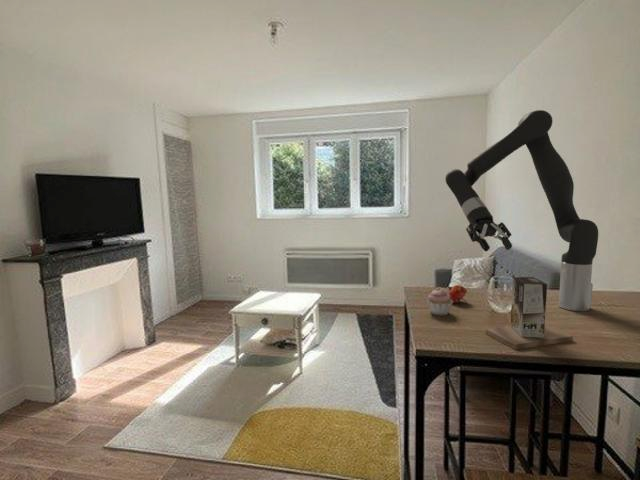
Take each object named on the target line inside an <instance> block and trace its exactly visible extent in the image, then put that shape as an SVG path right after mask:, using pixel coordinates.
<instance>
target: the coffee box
mask: <svg viewBox="0 0 640 480" xmlns="http://www.w3.org/2000/svg"><path fill="white" fill-rule="evenodd" d="M511 281H512V282H511V303H510V305H511V309H510V311H511V312H510V326H511V327H512V328H513V329H514V330H515V331H516V332H517V333H518V334H519V335H520V336H522V337H536V338H544V329H545V325H546V310H547V309H546V307H547V297H548V296H547V292H548V283H546V282H544V281H542V280H540V279H538V278H536V277H534V276H520V277H516V276H515V277H512V280H511Z"/></svg>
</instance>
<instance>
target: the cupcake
mask: <svg viewBox="0 0 640 480" xmlns="http://www.w3.org/2000/svg"><path fill="white" fill-rule="evenodd" d="M426 302H427V304H428V306H429V312H430V313H431V314H432V315H434V316H440V317H441V316H442V317H444V316H447V315H449V313H450V310H451V307H452V305H453V304H454V303H453V301H452V300H450V296H449V294H448V292H447V291H446V289H445V288H443V287H441V286H438V287H437V289H434V290H432V291H431V293H429V294H428V297H427V298H426Z"/></svg>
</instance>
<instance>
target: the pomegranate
mask: <svg viewBox="0 0 640 480" xmlns="http://www.w3.org/2000/svg"><path fill="white" fill-rule="evenodd" d="M446 288H448V292H447V293H448V294H449V296H450V300H452V301H453V303H452V304H458V303H460V301H461V300H462V301H464V302H466V303H467V300H465V299H464V297H465V296H466V294H467V293H468V291H467V289H466V288H465V287H464V286H463V285H459V284H456V285H453V286H451V287H450V286H446Z"/></svg>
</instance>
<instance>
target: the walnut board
mask: <svg viewBox="0 0 640 480" xmlns="http://www.w3.org/2000/svg"><path fill="white" fill-rule="evenodd" d="M485 334H486V335H487V336H489V337H491V338H493V339H495V340H496V341H498V342H500V343H502V344H504V345H506V346H508V347H510V348H512V349H513V350H515V351H516V350H522V349H523V350H524V349H528V348H534V347H542V346H548V345H554V344H561V343H567V342H573V341H574V335H571V334H570V333H566V332H564V331H561V330H559V329H558V328H555V327H552V326H550V325H548V324H545V329H544V338H536V337H522V336H520V335H519V334H518V333H517V332H516V331H515V330H514V329H513V328H512V327H511V325H505V326H498V327H491V328H490V327H489V328H485Z"/></svg>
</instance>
